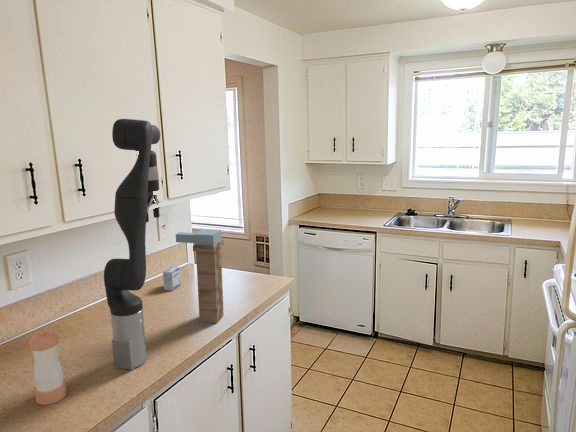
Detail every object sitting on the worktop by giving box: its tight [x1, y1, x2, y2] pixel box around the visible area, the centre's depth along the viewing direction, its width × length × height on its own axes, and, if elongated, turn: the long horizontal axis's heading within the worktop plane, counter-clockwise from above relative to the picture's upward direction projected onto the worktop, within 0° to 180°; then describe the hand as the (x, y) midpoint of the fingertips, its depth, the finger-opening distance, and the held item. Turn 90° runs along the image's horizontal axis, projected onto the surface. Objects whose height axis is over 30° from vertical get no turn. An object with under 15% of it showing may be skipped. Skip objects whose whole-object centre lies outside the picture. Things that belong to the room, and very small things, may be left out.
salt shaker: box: [28, 330, 67, 406], centre depth 113 cm, size 7×7×19 cm
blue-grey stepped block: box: [175, 228, 222, 246], centre depth 155 cm, size 8×16×4 cm, turn 79°
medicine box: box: [162, 266, 182, 292], centre depth 192 cm, size 8×4×9 cm, turn 168°
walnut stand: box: [192, 239, 225, 324], centre depth 158 cm, size 10×8×30 cm
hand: (151, 219), depth 165 cm, fingers open, 8 cm apart
